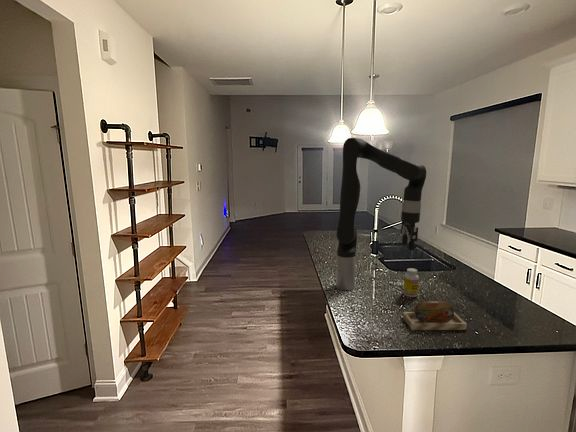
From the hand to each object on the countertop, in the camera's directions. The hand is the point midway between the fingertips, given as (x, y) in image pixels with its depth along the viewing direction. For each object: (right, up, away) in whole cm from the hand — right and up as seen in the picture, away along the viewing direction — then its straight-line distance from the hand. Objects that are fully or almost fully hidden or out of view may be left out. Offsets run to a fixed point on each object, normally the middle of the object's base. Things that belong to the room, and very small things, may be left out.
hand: (407, 247), depth 142 cm
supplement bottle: (+8, -25, +16) cm, 31 cm away
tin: (+6, -29, -11) cm, 32 cm away
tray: (+6, -30, -11) cm, 32 cm away
